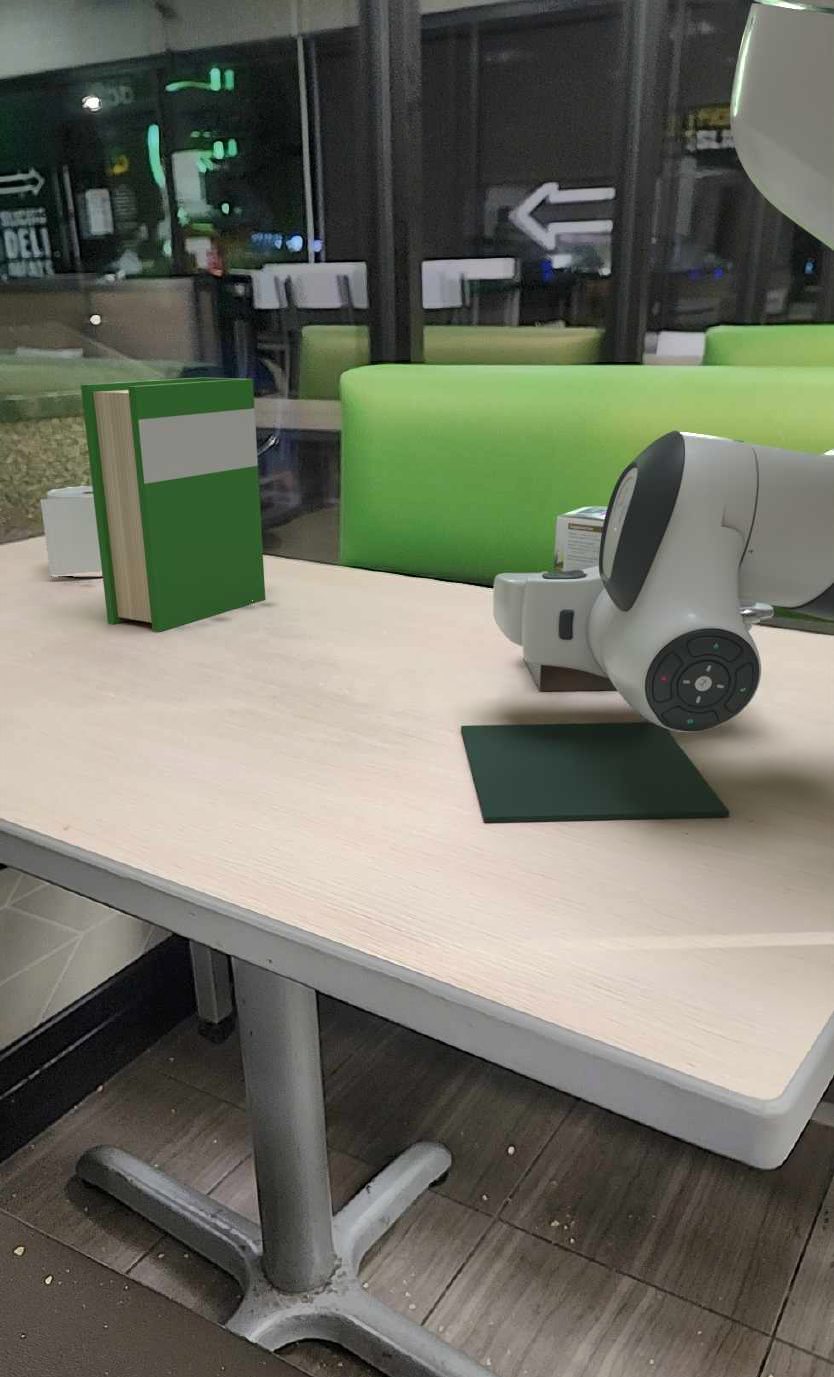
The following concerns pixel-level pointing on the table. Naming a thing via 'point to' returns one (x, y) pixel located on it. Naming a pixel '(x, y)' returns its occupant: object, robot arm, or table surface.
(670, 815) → the mat
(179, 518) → the hardback book
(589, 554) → the syrup box
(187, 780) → the table surface
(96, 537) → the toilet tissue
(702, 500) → the robot arm
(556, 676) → the box
